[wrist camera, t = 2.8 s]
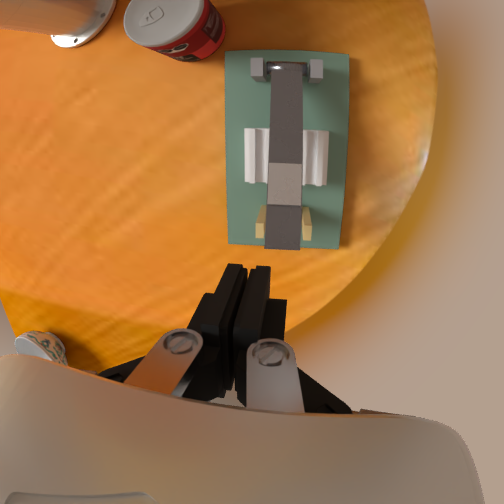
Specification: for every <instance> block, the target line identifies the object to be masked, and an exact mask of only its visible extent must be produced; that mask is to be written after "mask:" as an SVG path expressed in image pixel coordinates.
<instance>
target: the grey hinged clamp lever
mask: <svg viewBox="0 0 504 504" xmlns="http://www.w3.org/2000/svg"><path fill="white" fill-rule="evenodd" d="M266 74H267V76H271V100H270V129H269V156H268V180H267V204H266V226H265V247H264V249H282V250H300V242H301V217H302V182H303V83H302V77H307V62H288V61H267V62H266Z"/></svg>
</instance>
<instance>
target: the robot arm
mask: <svg viewBox="0 0 504 504" xmlns="http://www.w3.org/2000/svg"><path fill="white" fill-rule="evenodd" d="M116 1H117V0H0V29H8V30H18V31H26V32H34V33H41V34H47V35H51V38H52V40H53V41H54V43H55V44H56V45H58V46H60V47H64V48H75V47H78V46H81V45H83V44H85V43H87V42H88V41H89V40H91V39H92V38H93V37H95V36H96V35H97V34H98V33H99V32H100V31H101V30H102V28H103V27H104V26H105V25H106V23H107V22H108V20H109V19H110V17H111V15H112V13H113V11H114V8H115V5H116ZM270 272H271V267H270V266H256V269H251V270H250V274H249V277H248V270H247V268H243V265H242V264H230V263H228V265H227V267H226V269H225V271H224V273H223V276H222V278H221V280H220V282H219V284H218V286H217V288H216V291H215V293H214V294H213V293H205V294H204V295H203V297H202V299H201V301H200V303H199V305H198V307H197V309H196V311H195V313H194V315H193V317H192V319H191V321H190V323H189V325H188V327H187V329H184V328H183V329H175V330H171V331H169V332H167V333H165V334H164V335H163V336H162V337H161V338H160V339H159V340H158V342H157V343H156V344H155V345H154V346H153V348H152V349H151V350H150V351H149V352H148V354H147V355H146V356H143V357H141V358H138V359H135V360H132V361H129V362H127V363H124V364H121V365H118V366H115V367H112V368H109V369H107V370H104V371H102V372H101V373H99V374H97V372H96V371H89V370H80V369H75V368H72V367H69V366H66V365H63V364H60V363H57V362H54V361H50V360H48V359H44V358H40V357H36V356H31V355H23V354H18V355H17V354H11V355H5V356H1V357H0V504H485V503H484V497H483V493H482V489H481V485H480V481H479V477H478V473H477V470H476V467H475V464H474V461H473V459H472V456H471V454H470V451H469V449H468V447H467V445H466V444H465V442H464V440H463V439H462V437H461V436H460V435H459V434H458V433H457V432H456V431H455V430H454V429H452V428H451V427H449V426H447V425H444V424H442V423H439V422H437V421H433V420H429V419H425V418H421V417H415V416H408V415H399V414H392V413H385V412H378V411H372V410H365V409H360V411H359V412H357V411H352V410H351V409H350V407H349V406H348V405H346V403H344V402H343V401H341V400H340V399H339V398H337V397H336V396H335V395H333V394H332V393H331V392H329V391H328V390H327V389H325V388H324V387H323V386H321V385H320V384H319V383H317V382H316V381H315V380H314V379H312V378H311V377H310V376H308V375H307V374H305V373H304V372H303V371H302V370H301V369H299V368H298V367H297V364H296V358H295V353H294V350H293V348H292V347H291V346H290V345H289V344H288V343H286V342H284V331H285V319H286V306H287V300H283V299H270V298H269V294H270ZM234 378H235V391H237V399H238V400H239V401H240V402H241V403H242V404H243V405H244V406H245V407H238V406H231V405H224V404H217V403H211V400H212V399H214V398H216V397H220V398H224V396H225V393H226V390H231V389H232V386H233V382H234Z"/></svg>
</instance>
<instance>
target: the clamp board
mask: <svg viewBox="0 0 504 504" xmlns="http://www.w3.org/2000/svg"><path fill="white" fill-rule="evenodd" d="M267 61H288V62H307V77H302V83H303V182H302V217H301V242H300V247H304V248H323V249H339V241H340V232H341V223H342V213H343V203H344V192H345V179H346V165H347V149H348V126H349V54H340V53H330V52H318V51H302V50H238V51H225V140H226V186H227V220H228V244H241V245H263V246H265V226H266V204H267V180H268V156H269V129H270V100H271V76H267V74H266V62H267Z"/></svg>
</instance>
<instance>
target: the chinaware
mask: <svg viewBox="0 0 504 504" xmlns="http://www.w3.org/2000/svg"><path fill="white" fill-rule="evenodd" d="M15 347H16V350H17V352H18V354H23V355H31V356H36V357H40V358H44V359H48V360H50V361H54V362H57V363H60V364H63V365H66V366H68V364H67V358H66V355H65V347H64V345H63V343H62V342H61V340H60V339H59V338H58V337H57V336H55V335H54V334H52V333H50V332H46V333H44V332H40V331H30V332H26V333H24V334H22V335H20V336H18V337H17V338H16V339H15Z"/></svg>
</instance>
